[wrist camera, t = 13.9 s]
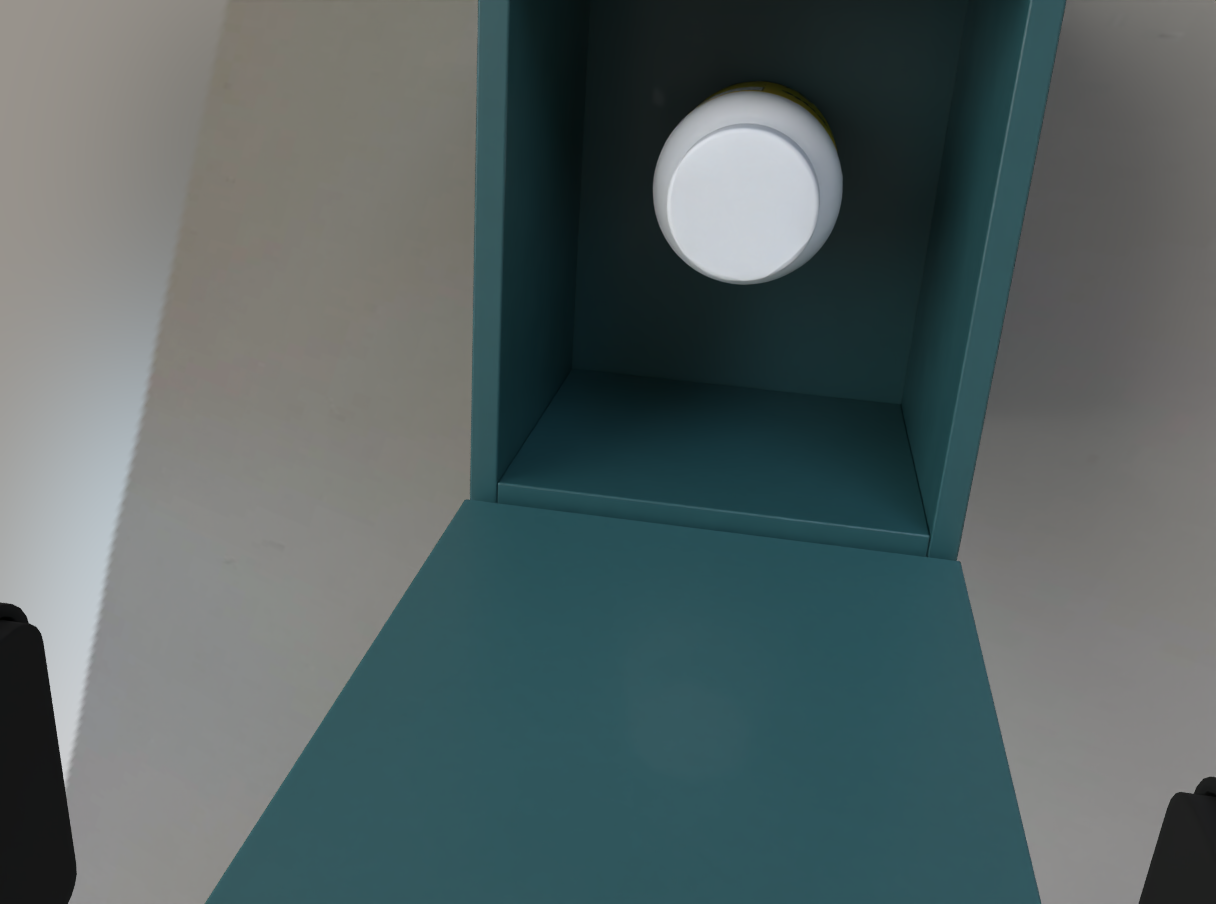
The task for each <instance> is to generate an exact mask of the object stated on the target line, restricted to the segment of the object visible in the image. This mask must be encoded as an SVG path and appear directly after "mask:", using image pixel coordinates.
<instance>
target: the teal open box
mask: <svg viewBox="0 0 1216 904" xmlns="http://www.w3.org/2000/svg"><path fill="white" fill-rule="evenodd" d="M1065 5H1066V0H478V46H477V106H476V167H475V228H474V288H473V349H472V410H471V471H470V500H475V501H483V502H491V503H499V504H507V505H514V506H522V507H530V508H538V509H546V510H554V511H562V512H570V513H578V514H586V515H594V516H602V517H610V518H618V519H626V520H634V521H642V522H650V523H658V524H666V525H674V526H682V527H690V528H698V529H706V530H714V531H722V532H730V533H738V534H746V535H754V536H762V537H770V538H778V539H786V540H794V541H801V542H809V543H817V544H825V545H833V546H841V547H849V548H857V549H865V550H873V551H881V552H889V553H897V554H905V555H913V556H921V557H929V558H937V559H945V560H953V561H957V557H958V552H959V546H960V541H961V536H962V531H963V526H964V521H965V516H966V511H967V506H968V501H969V495H970V490H971V485H972V480H973V475H974V470H975V465H976V460H977V455H978V450H979V444H980V439H981V434H982V429H983V424H984V419H985V414H986V409H987V404H988V398H989V393H990V388H991V383H992V378H993V373H994V368H995V363H996V358H997V353H998V347H999V342H1000V337H1001V332H1002V327H1003V322H1004V317H1005V312H1006V307H1007V301H1008V296H1009V291H1010V286H1011V281H1012V276H1013V271H1014V266H1015V261H1016V256H1017V250H1018V245H1019V240H1020V235H1021V230H1022V225H1023V220H1024V215H1025V210H1026V204H1027V199H1028V194H1029V189H1030V184H1031V179H1032V174H1033V169H1034V164H1035V159H1036V153H1037V148H1038V143H1039V138H1040V133H1041V128H1042V123H1043V118H1044V113H1045V107H1046V102H1047V97H1048V92H1049V87H1050V82H1051V77H1052V72H1053V67H1054V62H1055V56H1056V51H1057V46H1058V41H1059V36H1060V31H1061V26H1062V21H1063V16H1064V10H1065ZM749 81H769V82H774V83H779V84H782V85H785V86H788V87H790V88H792V89H794V90H796V91H798V92H799V93H801V94H802V95H804V96H805V97H807V98H808V99H809V100H810V101H811V102H812V103H813V104H814V105H815V106H816V107H817V108H818V109H819V110H820V112H821V113H822V114H823V116H824V117H825V119H826V121H827V122H828V124H829V126H830V129H831V131H832V133H833V136H834V139H835V143H836V147H837V152H838V155H839V158H840V163H841V169H842V174H843V192H842V201H841V207H840V211H839V214H838V217H837V220H836V223H835V225H834V228H833V230H832V232H831V234H830V235H829V237H828V239H827V240H826V242H825V243H824V244H823V246H822V247H821V248H820V249H819V251H818V252H817V253H816V254H815V255H814V256H813V257H812V258H811V259H810V260H809V261H807V262H806V263H805V264H804V265H802V266H801V267H799V268H798V269H796V270H794V271H793V272H791V273H789V274H787V275H785V276H783V277H780V278H778V279H775V280H772V281H769V282H764V283H759V284H747V285H740V284H731V283H725V282H721V281H718V280H715V279H712V278H709V277H707V276H705V275H703V274H701V273H699V272H697V271H696V270H694V269H693V268H692V267H690V266H689V265H687V264H686V263H685V262H684V261H683V260H682V259H681V258H680V257H679V256H678V255H677V254H676V253H675V252H674V250H673V249H672V248H671V246H670V245H669V243H668V242H667V240H666V239H665V237H664V235H663V233H662V231H661V229H660V226H659V223H658V220H657V217H656V214H655V208H654V202H653V179H654V172H655V168H656V164H657V161H658V158H659V155H660V153H661V150H662V148H663V146H664V144H665V142H666V140H667V139H668V137H669V135H670V134H671V133H672V131H673V130H674V129H675V127H676V126H677V125H678V124H679V123H680V122H681V121H682V119H683V118H685V117H686V116H687V115H688V114H689V113H690V112H691V111H692V110H694V109H695V108H696V107H697V106H698V105H699V104H701V103H702V102H703V101H704V100H706V99H707V98H708V97H710V96H711V95H713V94H714V93H716V92H718V91H720V90H721V89H723V88H726V87H728V86H730V85H733V84H736V83H742V82H749Z"/></svg>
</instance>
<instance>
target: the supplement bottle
mask: <svg viewBox="0 0 1216 904" xmlns="http://www.w3.org/2000/svg"><path fill="white" fill-rule="evenodd" d="M842 192H843V174H842V169H841V163H840V158H839V155H838V152H837V147H836V143H835V139H834V136H833V133H832V131H831V129H830V126H829V124H828V122H827V121H826V119H825V117H824V116H823V114H822V113H821V112H820V110H819V109H818V108H817V107H816V106H815V105H814V104H813V103H812V102H811V101H810V100H809V99H808V98H807V97H805V96H804V95H802V94H801V93H799V92H798V91H796V90H794V89H792V88H790V87H788V86H785V85H782V84H779V83H774V82H769V81H749V82H742V83H736V84H733V85H730V86H728V87H726V88H723V89H721V90H720V91H718V92H716V93H714V94H713V95H711V96H710V97H708V98H707V99H706V100H704V101H703V102H702V103H701V104H699V105H698V106H697V107H696V108H695V109H694V110H692V111H691V112H690V113H689V114H688V115H687V116H686V117H685V118H683V119H682V121H681V122H680V123H679V124H678V125H677V126H676V127H675V129H674V130H673V131H672V133H671V134H670V135H669V137H668V139H667V140H666V142H665V144H664V146H663V148H662V150H661V153H660V155H659V158H658V161H657V164H656V168H655V172H654V179H653V202H654V208H655V214H656V217H657V220H658V223H659V226H660V229H661V231H662V233H663V235H664V237H665V239H666V240H667V242H668V243H669V245H670V246H671V248H672V249H673V250H674V252H675V253H676V254H677V255H678V256H679V257H680V258H681V259H682V260H683V261H684V262H685V263H686V264H687V265H689V266H690V267H692V268H693V269H694V270H696V271H697V272H699V273H701V274H703V275H705V276H707V277H709V278H712V279H715V280H718V281H721V282H725V283H731V284H740V285H747V284H759V283H764V282H769V281H772V280H775V279H778V278H780V277H783V276H785V275H787V274H789V273H791V272H793V271H794V270H796V269H798V268H799V267H801V266H802V265H804V264H805V263H806V262H807V261H809V260H810V259H811V258H812V257H813V256H814V255H815V254H816V253H817V252H818V251H819V249H820V248H821V247H822V246H823V244H824V243H825V242H826V240H827V239H828V237H829V235H830V234H831V232H832V230H833V228H834V225H835V223H836V220H837V217H838V214H839V211H840V207H841V201H842Z"/></svg>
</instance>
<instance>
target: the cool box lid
mask: <svg viewBox="0 0 1216 904" xmlns="http://www.w3.org/2000/svg"><path fill="white" fill-rule="evenodd" d="M205 904H1041V900H1040V896H1039V892H1038V887H1037V883H1036V879H1035V875H1034V871H1033V866H1032V862H1031V858H1030V854H1029V849H1028V845H1027V841H1026V837H1025V833H1024V828H1023V824H1022V820H1021V816H1020V811H1019V807H1018V803H1017V799H1016V795H1015V790H1014V786H1013V782H1012V778H1011V774H1010V769H1009V765H1008V761H1007V757H1006V752H1005V748H1004V744H1003V740H1002V736H1001V731H1000V727H999V723H998V719H997V714H996V710H995V706H994V702H993V698H992V693H991V689H990V685H989V681H988V676H987V672H986V668H985V664H984V660H983V655H982V651H981V647H980V643H979V638H978V634H977V630H976V626H975V622H974V617H973V613H972V609H971V605H970V600H969V596H968V592H967V588H966V584H965V579H964V575H963V571H962V567H961V563H960V562H959V561H953V560H945V559H937V558H929V557H921V556H913V555H905V554H897V553H889V552H881V551H873V550H865V549H857V548H849V547H841V546H833V545H825V544H817V543H809V542H801V541H794V540H786V539H778V538H770V537H762V536H754V535H746V534H738V533H730V532H722V531H714V530H706V529H698V528H690V527H682V526H674V525H666V524H658V523H650V522H642V521H634V520H626V519H618V518H610V517H602V516H594V515H586V514H578V513H570V512H562V511H554V510H546V509H538V508H530V507H522V506H514V505H507V504H499V503H491V502H483V501H475V500H465V501H464V502H463V504H462V505H461V507H460V508H459V510H458V512H457V513H456V515H455V516H454V518H453V519H452V521H451V522H450V524H449V526H448V527H447V529H446V530H445V532H444V533H443V535H442V536H441V538H440V539H439V541H438V543H437V544H436V546H435V547H434V549H433V550H432V552H431V553H430V555H429V557H428V558H427V560H426V561H425V563H424V564H423V566H422V567H421V569H420V571H419V572H418V574H417V575H416V577H415V578H414V580H413V581H412V583H411V585H410V586H409V588H408V589H407V591H406V592H405V594H404V595H403V597H402V598H401V600H400V602H399V603H398V605H397V606H396V608H395V609H394V611H393V612H392V614H391V616H390V617H389V619H388V620H387V622H386V623H385V625H384V626H383V628H382V630H381V631H380V633H379V634H378V636H377V637H376V639H375V640H374V642H373V643H372V645H371V647H370V648H369V650H368V651H367V653H366V654H365V656H364V657H363V659H362V661H361V662H360V664H359V665H358V667H357V668H356V670H355V671H354V673H353V675H352V676H351V678H350V679H349V681H348V682H347V684H346V685H345V687H344V688H343V690H342V692H341V693H340V695H339V696H338V698H337V699H336V701H335V702H334V704H333V706H332V707H331V709H330V710H329V712H328V713H327V715H326V716H325V718H324V720H323V721H322V723H321V724H320V726H319V727H318V729H317V730H316V732H315V733H314V735H313V737H312V738H311V740H310V741H309V743H308V744H307V746H306V747H305V749H304V751H303V752H302V754H301V755H300V757H299V758H298V760H297V761H296V763H295V765H294V766H293V768H292V769H291V771H290V772H289V774H288V775H287V777H286V778H285V780H284V782H283V783H282V785H281V786H280V788H279V789H278V791H277V792H276V794H275V796H274V797H273V799H272V800H271V802H270V803H269V805H268V806H267V808H266V810H265V811H264V813H263V814H262V816H261V817H260V819H259V820H258V822H257V823H256V825H255V827H254V828H253V830H252V831H251V833H250V834H249V836H248V837H247V839H246V841H245V842H244V844H243V845H242V847H241V848H240V850H239V851H238V853H237V855H236V856H235V858H234V859H233V861H232V862H231V864H230V865H229V867H228V868H227V870H226V872H225V873H224V875H223V876H222V878H221V879H220V881H219V882H218V884H217V886H216V887H215V889H214V890H213V892H212V893H211V895H210V896H209V898H208V900H207V901H206V903H205Z"/></svg>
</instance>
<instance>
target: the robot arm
mask: <svg viewBox="0 0 1216 904" xmlns="http://www.w3.org/2000/svg"><path fill="white" fill-rule="evenodd" d="M76 875H77V873H76V860H75V853H74V846H73V840H72V833H71V826H70V819H69V813H68V806H67V799H66V792H65V786H64V779H63V772H62V765H61V758H60V752H59V745H58V739H57V731H56V725H55V718H54V711H53V704H52V698H51V691H50V685H49V678H48V671H47V664H46V657H45V651H44V644H43V639H42V636H41V633H40V631H39V630H38V629H37V627H35V626H33V625H31V624H29V623H28V620H27V617H26V615H25V614H24V612H23V611H22V610H21V608H19V607H17V606H14V605H13V604H7V603H0V904H68V902H69V900H70V898H71V896H72V892H73V889H74V886H75V881H76ZM1139 904H1216V777H1208V778H1205V779H1203V780H1202V781H1201V782H1200V783H1199V785H1198V786H1197V787H1196V790H1195V792H1194V794H1191V793H1184V792H1179V793H1176V794H1175V795H1174V796H1173V797H1172V799H1171V800H1170V803H1169V805H1168V808H1167V811H1166V814H1165V818H1164V821H1163V824H1162V828H1161V831H1160V834H1159V837H1158V841H1157V844H1156V847H1155V851H1154V854H1153V857H1152V861H1151V864H1150V867H1149V871H1148V874H1147V877H1146V881H1145V884H1144V887H1143V891H1142V894H1141V897H1140V901H1139Z"/></svg>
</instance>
